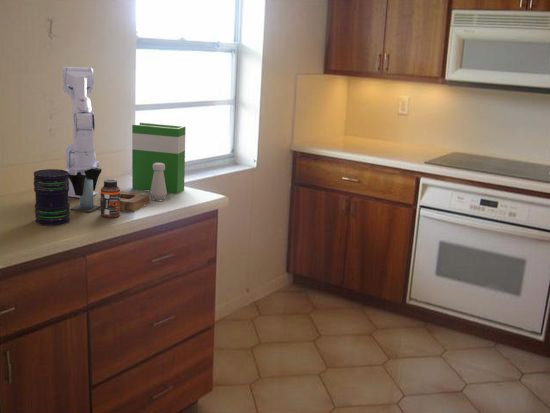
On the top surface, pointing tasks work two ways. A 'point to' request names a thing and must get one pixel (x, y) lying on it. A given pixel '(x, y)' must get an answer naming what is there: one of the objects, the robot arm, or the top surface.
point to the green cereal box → (158, 155)
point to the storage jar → (51, 197)
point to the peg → (87, 195)
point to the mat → (77, 208)
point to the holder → (132, 201)
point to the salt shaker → (158, 182)
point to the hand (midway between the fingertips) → (85, 192)
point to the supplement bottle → (110, 199)
